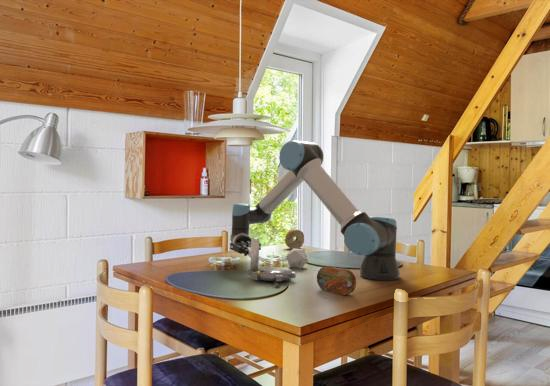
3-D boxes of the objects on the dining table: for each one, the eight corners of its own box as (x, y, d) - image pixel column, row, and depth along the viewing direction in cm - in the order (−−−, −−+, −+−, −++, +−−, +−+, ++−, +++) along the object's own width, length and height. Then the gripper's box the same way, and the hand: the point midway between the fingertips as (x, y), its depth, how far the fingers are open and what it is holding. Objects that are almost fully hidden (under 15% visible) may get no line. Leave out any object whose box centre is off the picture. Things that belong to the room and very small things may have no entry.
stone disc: (301, 247, 256) (301, 228, 256) (304, 248, 253) (305, 229, 252) (283, 248, 252) (284, 229, 251) (286, 249, 248) (287, 230, 248)
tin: (315, 289, 167) (316, 264, 166) (321, 287, 169) (322, 263, 168) (351, 297, 156) (352, 271, 155) (357, 296, 158) (358, 270, 158)
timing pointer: (273, 285, 170) (273, 282, 170) (277, 285, 171) (277, 282, 171) (275, 287, 167) (275, 285, 166) (279, 287, 167) (279, 284, 167)
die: (293, 271, 197) (308, 253, 197) (279, 259, 201) (293, 241, 201) (300, 275, 204) (314, 257, 204) (286, 263, 208) (300, 245, 208)
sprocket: (299, 273, 185) (300, 236, 184) (291, 282, 169) (291, 242, 168) (254, 270, 189) (255, 234, 188) (242, 279, 173) (243, 240, 172)
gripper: (257, 252, 203) (267, 264, 180) (227, 252, 201) (234, 264, 178) (258, 234, 203) (268, 244, 180) (228, 234, 200) (234, 244, 177)
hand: (251, 254), depth 179 cm, fingers closed
